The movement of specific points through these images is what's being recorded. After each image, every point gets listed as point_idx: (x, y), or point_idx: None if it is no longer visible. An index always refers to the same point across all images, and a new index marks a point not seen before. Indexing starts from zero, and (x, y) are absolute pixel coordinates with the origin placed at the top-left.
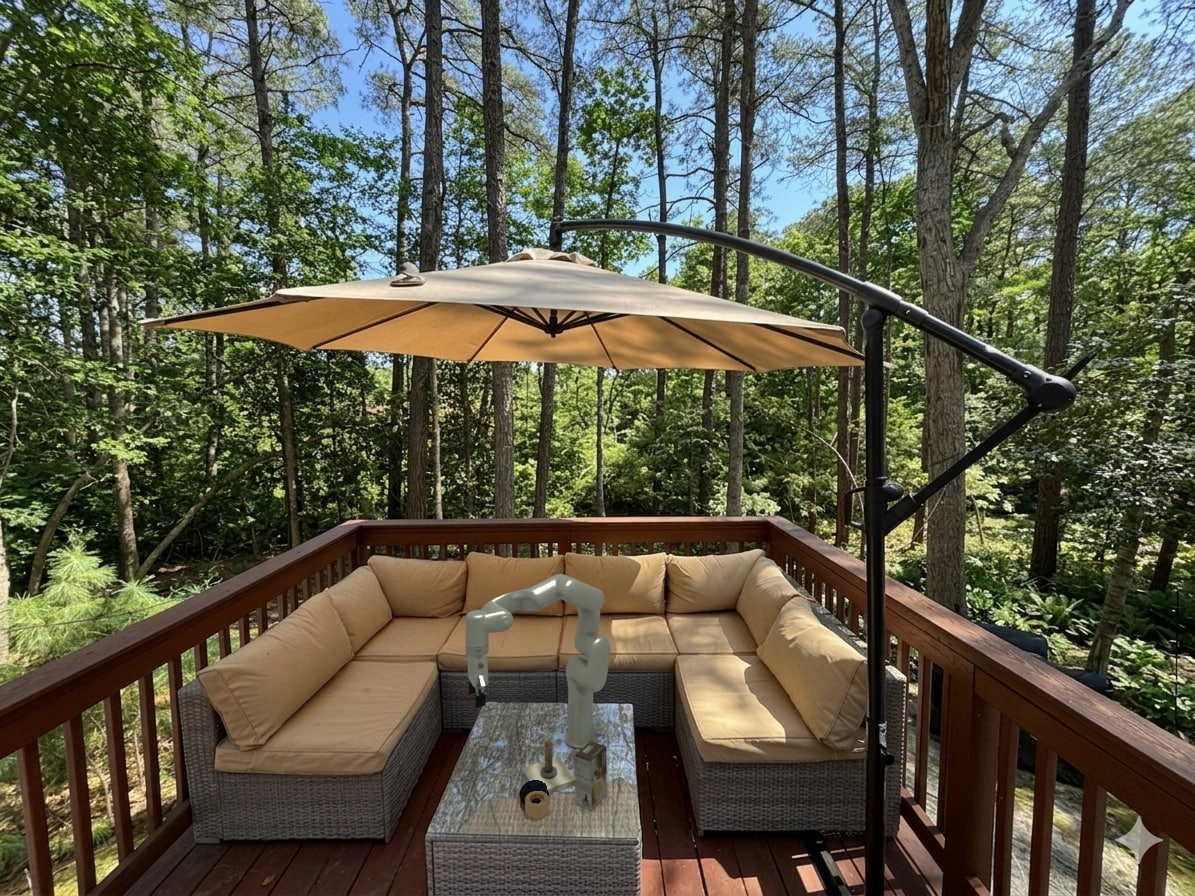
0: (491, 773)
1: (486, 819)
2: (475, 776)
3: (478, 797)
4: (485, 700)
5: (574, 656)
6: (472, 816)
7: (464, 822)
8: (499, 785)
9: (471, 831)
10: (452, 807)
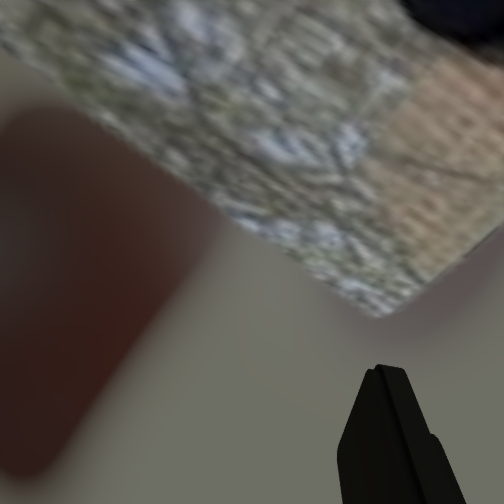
0: (234, 76)
1: (445, 199)
2: (216, 139)
3: (330, 177)
4: (425, 425)
5: None
6: (399, 229)
7: (404, 257)
8: (322, 81)
9: (453, 255)
10: (318, 260)
